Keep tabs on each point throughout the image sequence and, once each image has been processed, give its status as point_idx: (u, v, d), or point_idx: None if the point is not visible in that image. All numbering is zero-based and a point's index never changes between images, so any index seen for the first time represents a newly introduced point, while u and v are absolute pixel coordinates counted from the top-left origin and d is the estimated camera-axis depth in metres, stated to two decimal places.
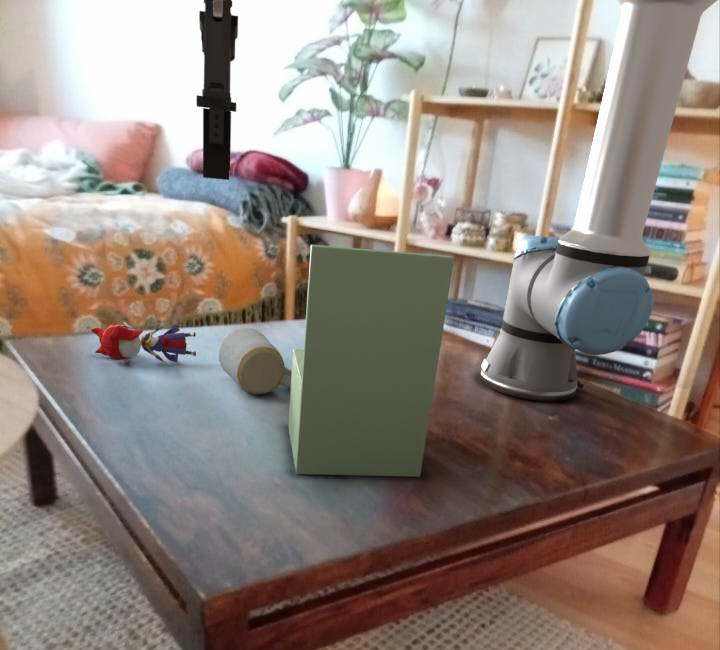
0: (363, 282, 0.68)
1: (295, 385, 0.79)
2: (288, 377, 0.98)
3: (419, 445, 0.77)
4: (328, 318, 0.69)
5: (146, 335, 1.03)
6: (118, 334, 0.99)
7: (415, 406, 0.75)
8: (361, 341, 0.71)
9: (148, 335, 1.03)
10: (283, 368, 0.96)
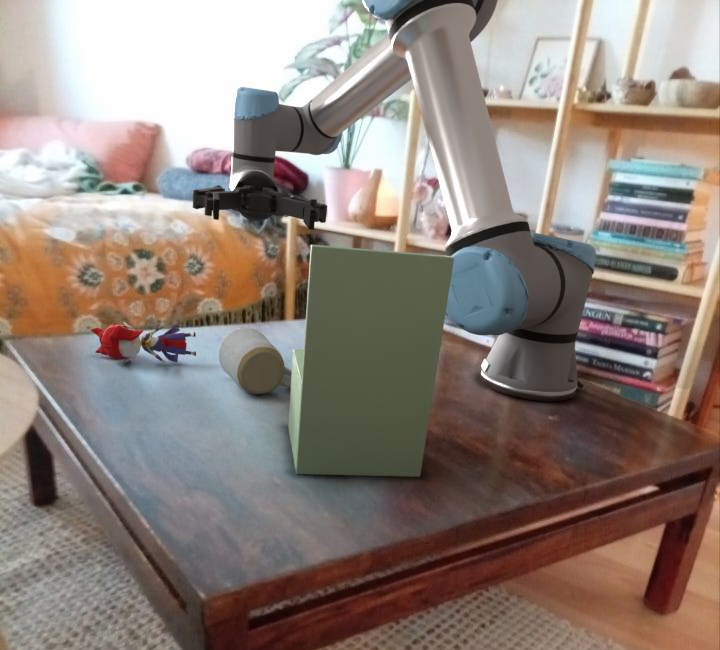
0: (363, 282, 0.68)
1: (295, 385, 0.79)
2: (288, 377, 0.98)
3: (419, 445, 0.77)
4: (328, 318, 0.69)
5: (146, 335, 1.03)
6: (118, 334, 0.99)
7: (415, 406, 0.75)
8: (361, 341, 0.71)
9: (148, 335, 1.03)
10: (283, 368, 0.96)
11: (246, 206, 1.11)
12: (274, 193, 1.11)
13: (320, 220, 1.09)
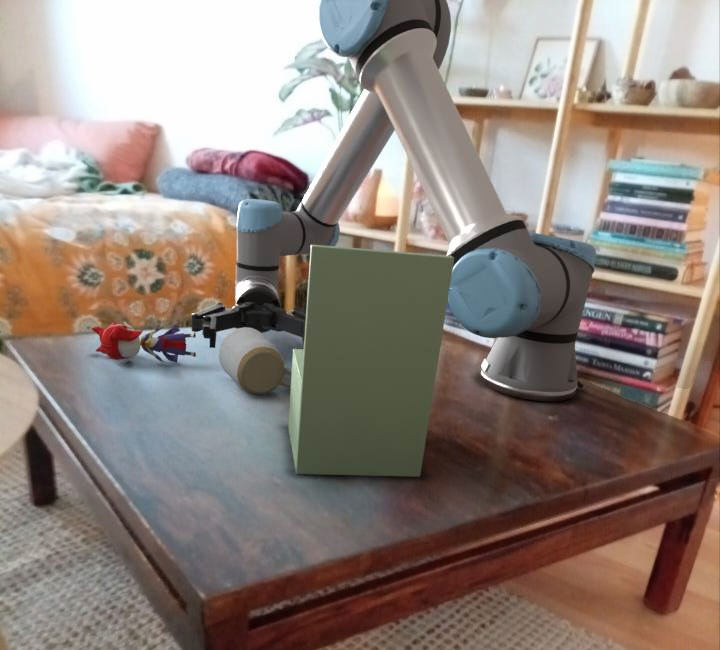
0: (363, 282, 0.68)
1: (295, 385, 0.79)
2: (288, 377, 0.98)
3: (419, 445, 0.77)
4: (328, 318, 0.69)
5: (146, 335, 1.02)
6: (117, 335, 0.99)
7: (415, 406, 0.75)
8: (361, 341, 0.71)
9: (148, 335, 1.03)
10: (283, 368, 0.96)
11: (246, 323, 1.11)
12: (274, 310, 1.11)
13: None
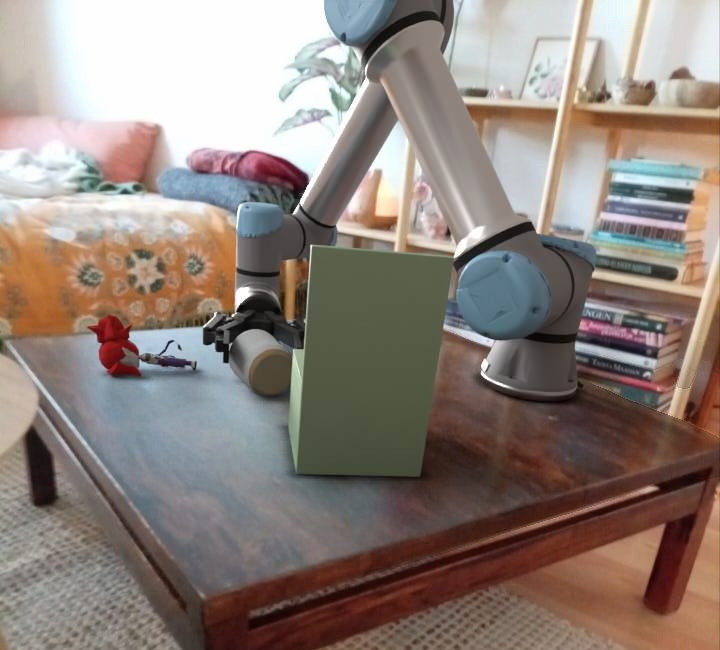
0: (363, 282, 0.68)
1: (295, 385, 0.79)
2: None
3: (419, 445, 0.77)
4: (328, 318, 0.69)
5: (145, 359, 0.99)
6: (115, 374, 0.98)
7: (415, 406, 0.75)
8: (361, 341, 0.71)
9: (147, 358, 0.99)
10: None
11: None
12: (272, 318, 1.06)
13: None
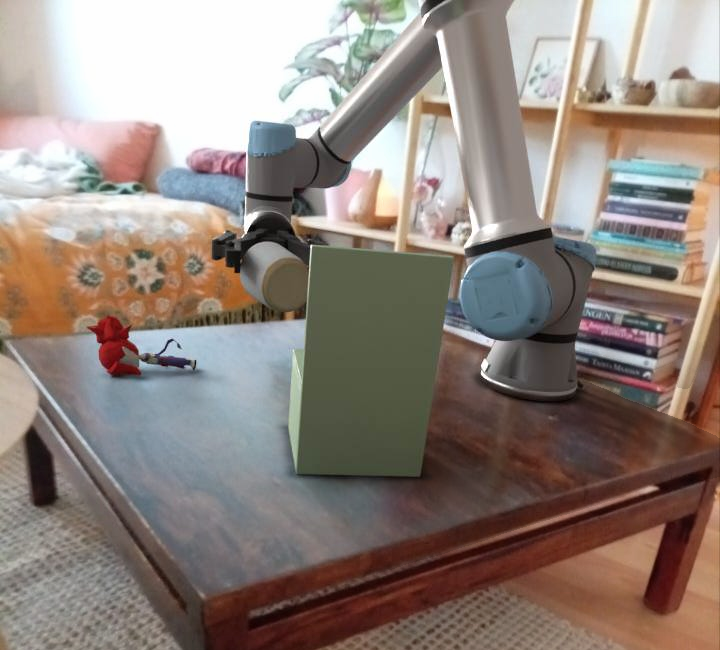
0: (363, 282, 0.68)
1: (295, 385, 0.79)
2: None
3: (419, 445, 0.77)
4: (328, 318, 0.69)
5: (145, 358, 0.99)
6: (115, 374, 0.98)
7: (415, 406, 0.75)
8: (361, 341, 0.71)
9: (147, 358, 0.99)
10: None
11: None
12: (285, 236, 0.98)
13: None
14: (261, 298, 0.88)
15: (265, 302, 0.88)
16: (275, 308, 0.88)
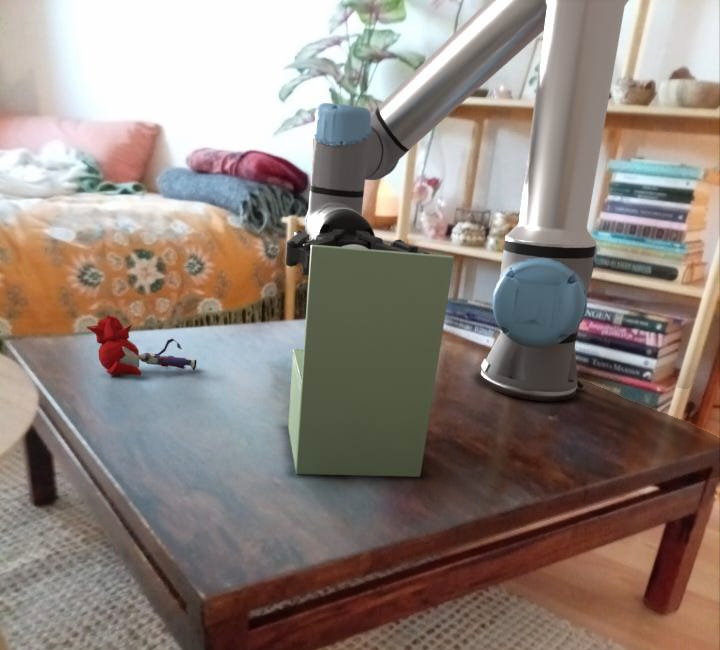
0: (363, 282, 0.68)
1: (295, 385, 0.79)
2: None
3: (419, 445, 0.77)
4: (328, 318, 0.69)
5: (145, 358, 0.99)
6: (115, 374, 0.98)
7: (415, 406, 0.75)
8: (361, 341, 0.71)
9: (147, 358, 0.99)
10: None
11: None
12: (368, 238, 0.83)
13: None
14: None
15: None
16: None
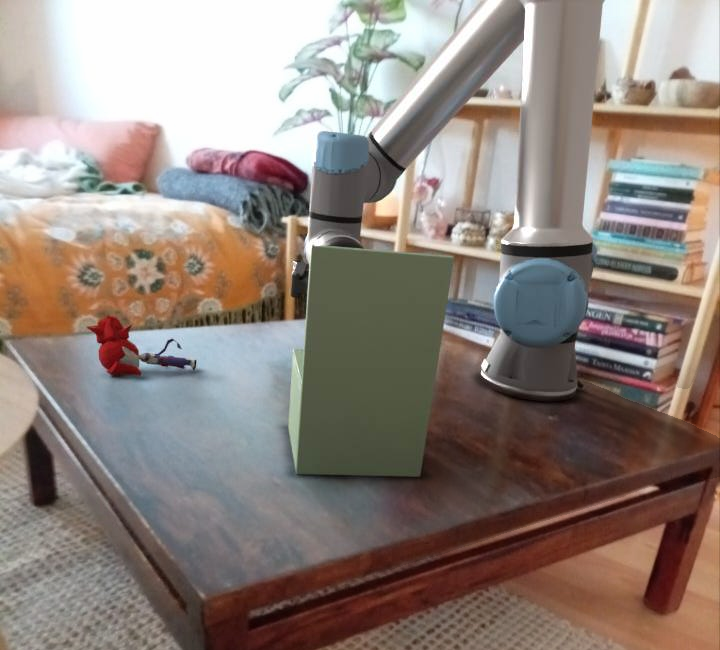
0: (363, 282, 0.68)
1: (295, 385, 0.79)
2: None
3: (419, 445, 0.77)
4: (328, 318, 0.69)
5: (145, 358, 0.99)
6: (115, 374, 0.98)
7: (415, 406, 0.75)
8: (361, 341, 0.71)
9: (147, 358, 0.99)
10: None
11: None
12: None
13: None
14: None
15: None
16: None
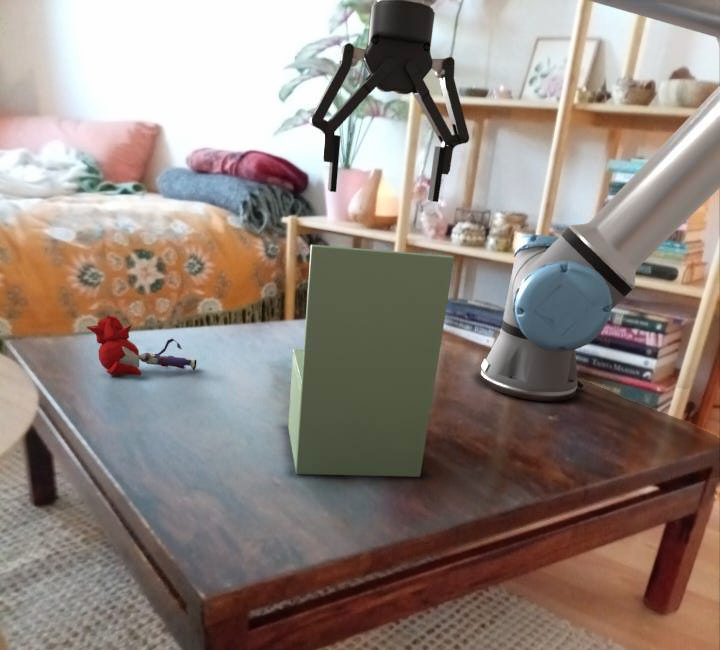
0: (363, 282, 0.68)
1: (295, 385, 0.79)
2: None
3: (419, 445, 0.77)
4: (328, 318, 0.69)
5: (145, 358, 0.99)
6: (115, 374, 0.98)
7: (415, 406, 0.75)
8: (361, 341, 0.71)
9: (147, 358, 0.99)
10: None
11: (378, 88, 0.87)
12: (416, 88, 0.86)
13: None
14: None
15: None
16: None
